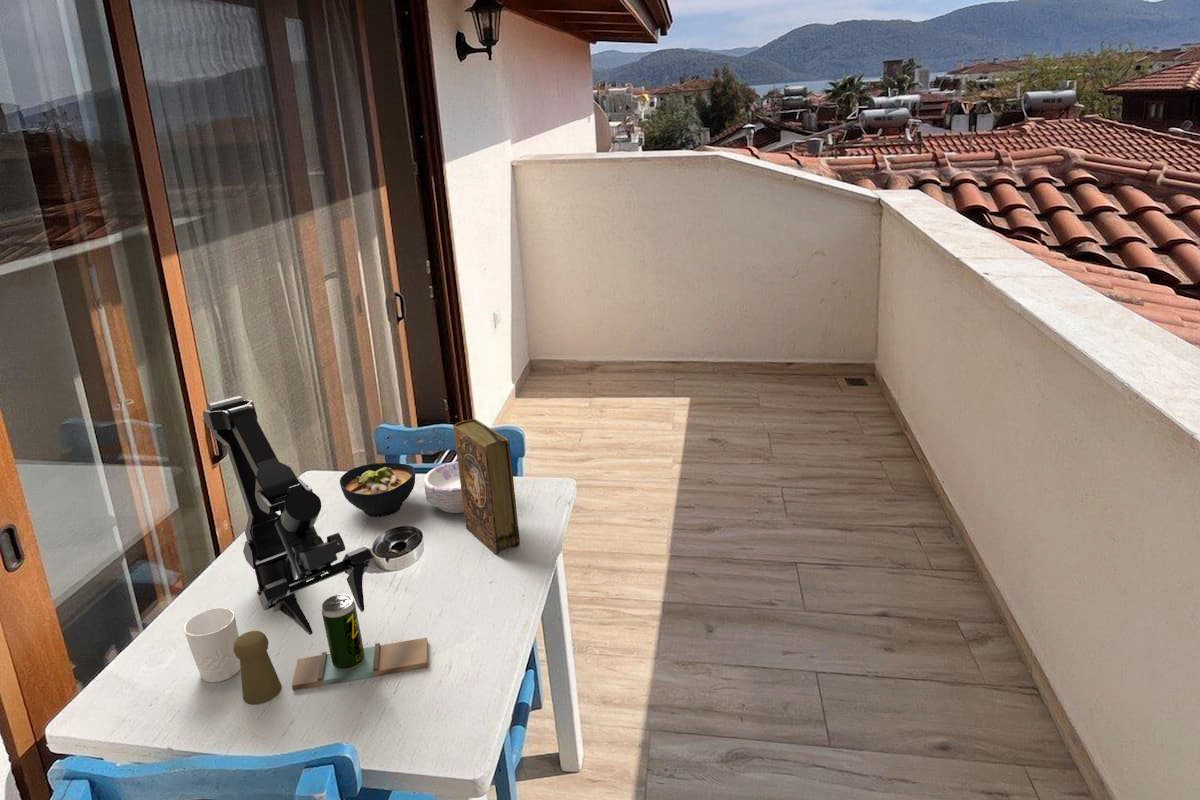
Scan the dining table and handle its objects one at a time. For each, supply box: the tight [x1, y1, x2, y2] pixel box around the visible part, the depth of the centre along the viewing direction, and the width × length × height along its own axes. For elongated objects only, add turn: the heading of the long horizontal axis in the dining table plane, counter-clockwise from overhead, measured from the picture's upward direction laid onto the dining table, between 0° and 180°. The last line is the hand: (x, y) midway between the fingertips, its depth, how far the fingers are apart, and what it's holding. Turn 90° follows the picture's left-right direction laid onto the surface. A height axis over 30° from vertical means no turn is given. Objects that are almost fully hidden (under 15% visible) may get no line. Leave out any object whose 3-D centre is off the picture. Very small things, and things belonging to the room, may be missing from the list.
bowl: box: [339, 462, 416, 518], centre depth 193 cm, size 17×17×10 cm
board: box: [291, 637, 429, 691], centre depth 140 cm, size 22×7×2 cm, turn 101°
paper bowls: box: [423, 461, 464, 514], centre depth 193 cm, size 15×15×8 cm
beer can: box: [321, 593, 365, 671], centre depth 138 cm, size 5×5×12 cm
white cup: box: [183, 607, 241, 683], centre depth 140 cm, size 8×8×10 cm
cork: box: [234, 630, 283, 706], centre depth 133 cm, size 6×6×11 cm
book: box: [452, 418, 521, 555], centre depth 175 cm, size 16×6×25 cm, turn 34°
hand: (337, 622), depth 139 cm, fingers open, 9 cm apart
